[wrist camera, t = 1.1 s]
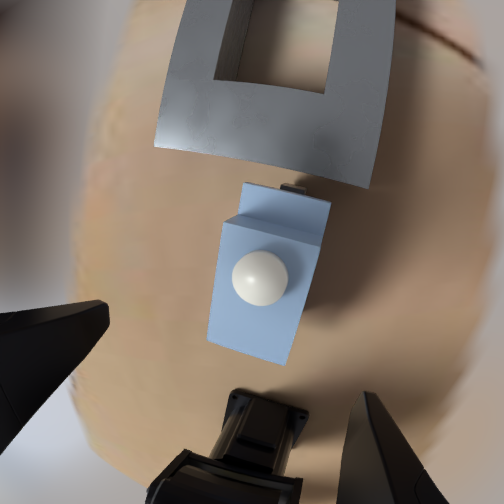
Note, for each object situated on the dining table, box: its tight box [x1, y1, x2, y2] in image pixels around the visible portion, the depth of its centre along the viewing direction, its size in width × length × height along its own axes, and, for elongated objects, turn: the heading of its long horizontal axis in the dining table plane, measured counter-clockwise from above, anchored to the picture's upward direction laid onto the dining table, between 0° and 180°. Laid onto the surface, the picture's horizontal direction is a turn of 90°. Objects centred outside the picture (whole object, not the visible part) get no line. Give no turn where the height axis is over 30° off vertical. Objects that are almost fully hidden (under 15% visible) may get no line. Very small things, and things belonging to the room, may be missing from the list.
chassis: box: [154, 0, 396, 189], centre depth 12 cm, size 15×11×3 cm
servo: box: [207, 182, 331, 366], centre depth 15 cm, size 9×4×6 cm, turn 170°
